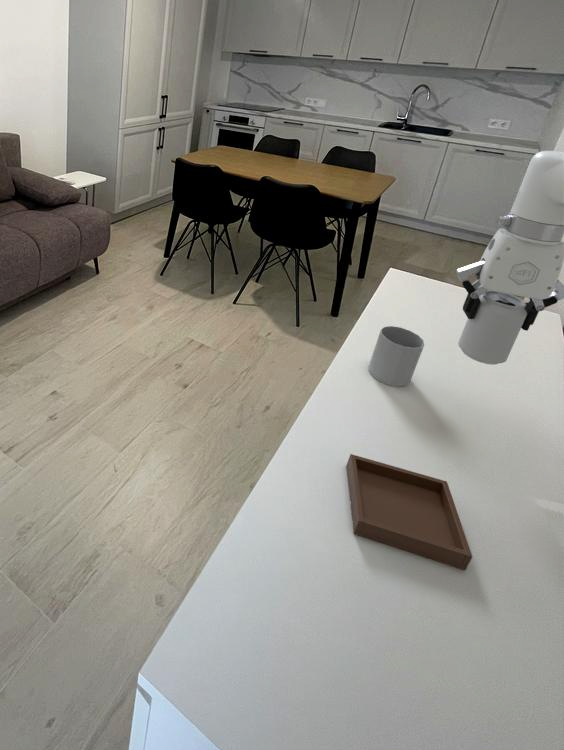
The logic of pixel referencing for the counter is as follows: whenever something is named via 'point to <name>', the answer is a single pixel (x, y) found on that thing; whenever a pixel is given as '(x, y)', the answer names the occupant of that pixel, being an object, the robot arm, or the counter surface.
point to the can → (493, 328)
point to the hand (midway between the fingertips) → (494, 320)
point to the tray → (406, 511)
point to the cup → (395, 356)
